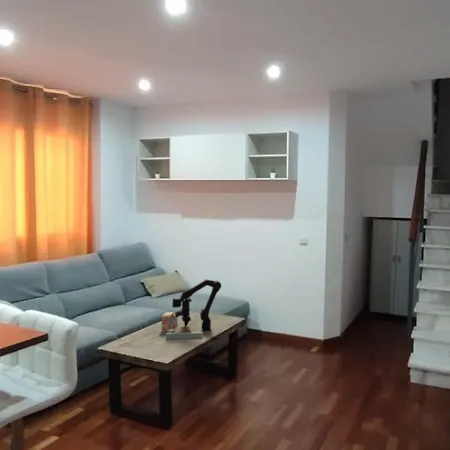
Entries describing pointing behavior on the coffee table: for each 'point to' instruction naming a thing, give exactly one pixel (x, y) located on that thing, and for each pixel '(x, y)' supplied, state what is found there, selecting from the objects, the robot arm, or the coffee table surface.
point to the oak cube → (171, 331)
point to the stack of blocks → (168, 321)
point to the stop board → (184, 335)
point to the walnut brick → (185, 329)
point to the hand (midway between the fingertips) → (185, 327)
